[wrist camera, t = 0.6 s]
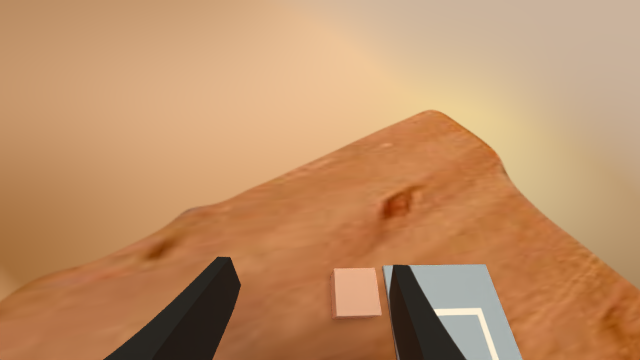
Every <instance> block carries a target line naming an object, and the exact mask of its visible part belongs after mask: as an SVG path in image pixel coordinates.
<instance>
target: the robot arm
mask: <svg viewBox="0 0 640 360" xmlns="http://www.w3.org/2000/svg"><path fill="white" fill-rule="evenodd" d="M240 287H241V284H240V281H239V279H238V276H237V274H236V271H235V268H234V266H233V263H232V260H231V258H230V257H217V258H216V259H215V260H214V261H213V262H212V263H211V264H210V265H209V266H208V267H207V268H206V269H205V270H204V271H203V272H202V273H201V274H200V275H199V276H198V277H197V278H196V279H195V280H194V281H193V282H192V283H191V284H190V285H189V286H188V287H187V288H186V289H185V290H184V291H183V292H182V293H180V294H179V295H178V296H177V297H176V298H175V299H174V300H173V301H172V302H171V303H170V304H169V305H168V306H167V307H166V308H165V309H164V310H162V311H161V312H160V313H159V314H158V315H157V316H156V317H155V318H154V319H153V320H151V321H150V322H149V323H148V324H147V325H146V326H145V327H143V328H142V329H141V330H140V331H139V332H138V333H136V334H135V335H134V336H133V337H132V338H130V339H129V340H128V341H127V342H125V343H124V344H123V345H122V346H120V347H119V348H118V349H117V350H115V351H114V352H113V353H111V354H110V355H109V356H107V357H106V358H105V359H103V360H212V359H213V356H214V354H215V352H216V349H217V347H218V345H219V342H220V340H221V338H222V336H223V333H224V331H225V329H226V326H227V324H228V322H229V319H230V317H231V314H232V312H233V310H234V307H235V304H236V300H237V297H238V294H239V290H240ZM389 301H390V311H391V320H392V325H393V330H394V335H395V340H396V345H397V350H398V355H399V360H467V359H466V358H465V357H464V355H463V354H462V352H461V351H460V349H459V348H458V346H457V345H456V344H455V342H454V341H453V339H452V338H451V336H450V335H449V333H448V332H447V330H446V329H445V327H444V325H443V324H442V322H441V321H440V319H439V317H438V316H437V314H436V313H435V311H434V309H433V308H432V306H431V304H430V303H429V301H428V299H427V298H426V296H425V294H424V292H423V290H422V289H421V287H420V285H419V283H418V281H417V279H416V277H415V275H414V273H413V271H412V269H411V267H410V266H409V265H393V269H392V276H391V283H390V289H389Z"/></svg>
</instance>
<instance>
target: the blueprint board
mask: <svg viewBox="0 0 640 360" xmlns="http://www.w3.org/2000/svg"><path fill="white" fill-rule="evenodd" d="M409 266H410V267H411V269H412V271H413V273H414V275H415V277H416V279H417V281H418V283H419V285H420V287H421V289H422V290H423V292H424V294H425V296H426V298H427V299H428V301H429V303H430V304H431V306H432V308H433V309H434V311H435V313H436V314H437V316H438V317H439V319H440V321H441V322H442V324H443V325H444V327H445V329H446V330H447V332H448V333H449V335H450V336H451V338H452V339H453V341H454V342H455V344H456V345H457V346H458V348H459V349H460V351H461V352H462V354H463V355H464V357H465V358H466V359H467V360H522V357H521V355H520V352H519V350H518V347H517V344H516V342H515V339H514V337H513V334H512V332H511V329H510V326H509V324H508V321H507V319H506V316H505V314H504V311H503V309H502V306H501V303H500V301H499V298H498V296H497V293H496V291H495V288H494V285H493V283H492V280H491V278H490V275H489V273H488V270H487V267H486V265H485V264H481V265H409ZM382 268H383V275H384V281H385V287H386V293H387V299H388V306H389V312H390V318H391V311H390V301H389V289H390V283H391V276H392V269H393V266H383V267H382ZM391 324H392V320H391ZM392 330H393V325H392ZM393 337H394V343H395V349H396V355H397V360H399V355H398V350H397V345H396V340H395V335H394V330H393Z"/></svg>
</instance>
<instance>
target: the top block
mask: <svg viewBox="0 0 640 360" xmlns="http://www.w3.org/2000/svg"><path fill="white" fill-rule="evenodd" d="M330 281H331V302H332V319H341V318H372V317H376V316H380V315H382V314H381V307H380V300H379V293H378V287H377V280H376V273H375V268H346V269H334V270H333V272H332V274H331V277H330Z"/></svg>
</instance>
